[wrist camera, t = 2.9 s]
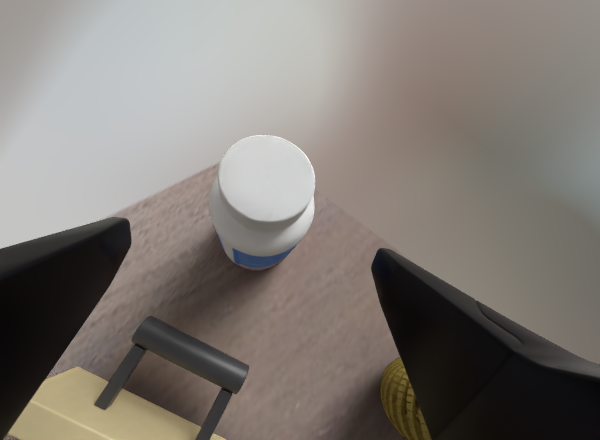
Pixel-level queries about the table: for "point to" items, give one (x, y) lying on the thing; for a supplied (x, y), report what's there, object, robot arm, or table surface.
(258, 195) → the pill bottle
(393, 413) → the sculpture
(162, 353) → the drawer
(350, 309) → the table surface
